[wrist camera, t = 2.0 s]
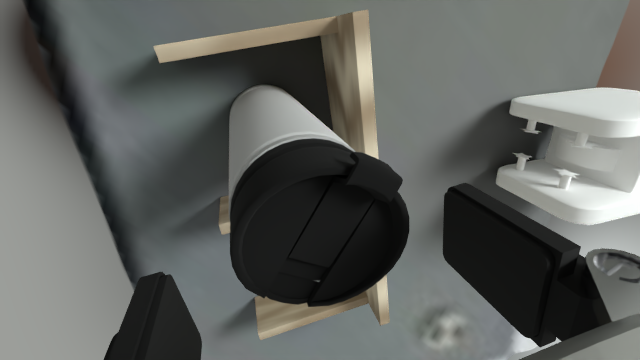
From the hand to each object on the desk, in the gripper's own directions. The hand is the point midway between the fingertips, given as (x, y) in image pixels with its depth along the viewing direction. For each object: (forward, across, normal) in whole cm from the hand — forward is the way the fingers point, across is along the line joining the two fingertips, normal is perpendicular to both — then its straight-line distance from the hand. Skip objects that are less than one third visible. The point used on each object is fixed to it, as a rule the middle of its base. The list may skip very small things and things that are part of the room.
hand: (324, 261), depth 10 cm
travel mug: (+20, 0, -1) cm, 20 cm away
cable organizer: (+20, -32, +8) cm, 39 cm away
